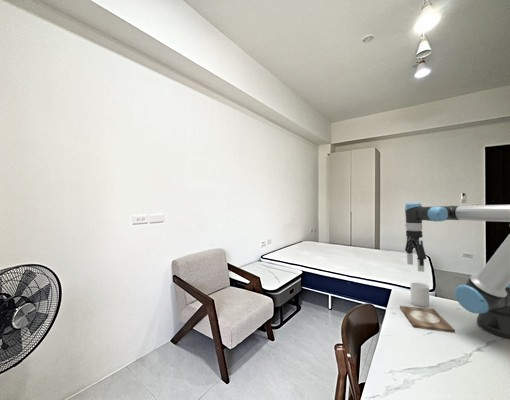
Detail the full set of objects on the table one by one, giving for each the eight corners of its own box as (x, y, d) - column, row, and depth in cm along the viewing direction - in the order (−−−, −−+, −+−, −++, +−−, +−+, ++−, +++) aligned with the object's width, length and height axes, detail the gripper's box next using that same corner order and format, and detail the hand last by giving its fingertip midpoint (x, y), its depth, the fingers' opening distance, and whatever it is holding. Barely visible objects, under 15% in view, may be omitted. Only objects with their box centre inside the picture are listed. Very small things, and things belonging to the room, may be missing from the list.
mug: (432, 301, 129) (431, 283, 129) (427, 308, 121) (427, 289, 121) (414, 297, 135) (413, 279, 136) (409, 303, 127) (408, 285, 127)
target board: (434, 311, 118) (434, 309, 118) (455, 332, 99) (455, 329, 99) (399, 307, 123) (399, 305, 123) (413, 327, 104) (413, 324, 104)
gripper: (398, 227, 138) (399, 261, 138) (416, 233, 114) (417, 274, 114) (412, 227, 136) (413, 262, 136) (433, 233, 112) (434, 275, 112)
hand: (415, 267), depth 125 cm, fingers open, 13 cm apart
